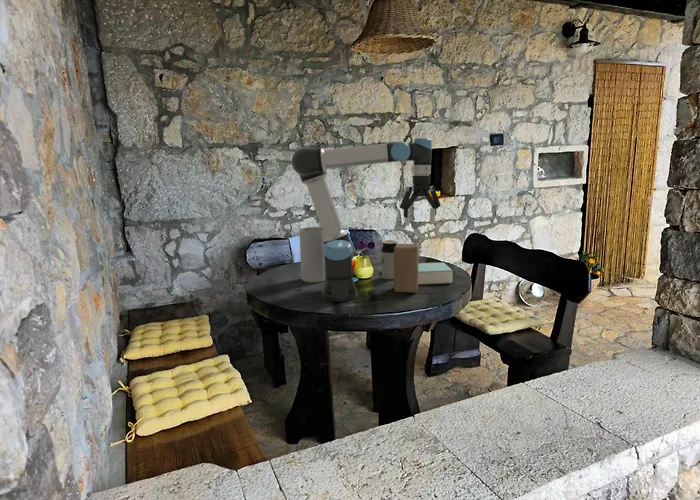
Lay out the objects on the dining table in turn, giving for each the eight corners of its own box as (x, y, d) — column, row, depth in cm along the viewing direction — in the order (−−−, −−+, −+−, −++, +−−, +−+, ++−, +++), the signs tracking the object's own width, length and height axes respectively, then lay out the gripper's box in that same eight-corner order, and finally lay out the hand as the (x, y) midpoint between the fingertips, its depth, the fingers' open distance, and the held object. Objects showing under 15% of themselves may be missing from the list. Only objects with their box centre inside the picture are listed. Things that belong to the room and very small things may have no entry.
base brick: (418, 284, 216) (418, 271, 215) (411, 275, 232) (411, 263, 231) (452, 282, 217) (452, 270, 216) (443, 274, 233) (443, 262, 232)
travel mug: (398, 275, 233) (398, 239, 229) (398, 279, 225) (398, 242, 222) (382, 275, 234) (381, 240, 230) (381, 279, 226) (381, 243, 222)
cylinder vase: (324, 275, 237) (322, 226, 232) (329, 281, 225) (327, 230, 220) (299, 277, 234) (297, 228, 229) (303, 284, 222) (301, 231, 217)
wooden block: (417, 293, 202) (417, 248, 198) (393, 292, 204) (393, 247, 200) (418, 287, 212) (418, 243, 208) (396, 286, 214) (396, 243, 210)
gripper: (402, 175, 192) (401, 226, 197) (450, 175, 204) (447, 223, 208) (392, 175, 199) (391, 224, 203) (439, 174, 210) (436, 221, 215)
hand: (419, 224), depth 206 cm, fingers open, 13 cm apart
